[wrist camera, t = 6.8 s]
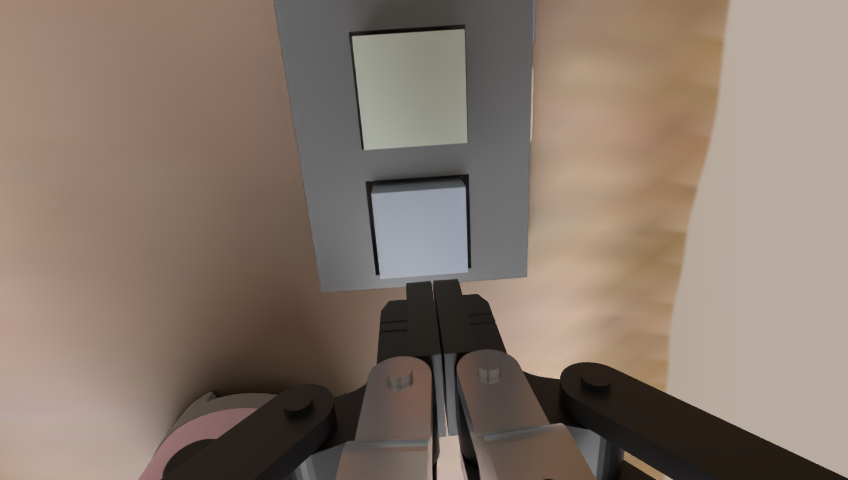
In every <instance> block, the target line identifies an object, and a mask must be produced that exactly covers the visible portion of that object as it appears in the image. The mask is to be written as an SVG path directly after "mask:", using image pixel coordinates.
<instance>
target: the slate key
mask: <svg viewBox="0 0 848 480" xmlns="http://www.w3.org/2000/svg"><path fill="white" fill-rule="evenodd" d="M371 197H372V206H373V215H374V224H375V234H376V243H377V252H378V262H379V271H380V279H388V278H402V277H415V276H428V275H441V274H454V273H467V272H468V252H467V217H466V187H465V185H464V183H463V181H462V179H461V177H460V176H459V175H449V176H435V177H421V178H407V179H393V180H379V181H374V184H373V188H372V193H371Z"/></svg>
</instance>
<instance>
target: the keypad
mask: <svg viewBox="0 0 848 480" xmlns="http://www.w3.org/2000/svg"><path fill="white" fill-rule="evenodd" d="M273 1H274V7H275V13H276V19H277V25H278V32H279V38H280V44H281V50H282V56H283V62H284V68H285V74H286V80H287V87H288V93H289V99H290V105H291V111H292V117H293V123H294V129H295V136H296V142H297V148H298V154H299V160H300V166H301V172H302V178H303V185H304V191H305V197H306V203H307V209H308V215H309V221H310V227H311V234H312V240H313V246H314V252H315V258H316V264H317V270H318V276H319V282H320V289H321V293H326V292H339V291H352V290H365V289H378V288H391V287H404V286H406V283H410V282H423V281H431V284H433V281H435V280H448V279H458V281H459V282H469V281H482V280H495V279H508V278H521V277H527V250H528V210H529V169H530V141H532V117H533V79H534V68H532V48H533V42H534V41H535V2H536V0H273ZM456 29H465V63H466V102H467V141H468V143H459V144H444V145H430V146H416V147H402V148H387V149H373V150H364V143H363V134H362V125H361V116H360V107H359V98H358V89H357V79H356V70H355V61H354V52H353V43H352V36H363V35H378V34H394V33H409V32H425V31H440V30H456ZM449 175H462V181H463V183H464V185H465V187H466V217H467V252H468V272H467V273H454V274H441V275H428V276H415V277H402V278H388V279H380V271H379V262H378V252H377V243H376V234H375V224H374V215H373V206H372V197H371V183H370V181H379V180H393V179H407V178H421V177H435V176H449Z"/></svg>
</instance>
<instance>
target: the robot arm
mask: <svg viewBox="0 0 848 480" xmlns="http://www.w3.org/2000/svg"><path fill="white" fill-rule="evenodd" d="M433 292H434V299H433ZM406 293H407V300H396V301H389V302H388V303H387V304H386V306H385V307H384V308H383V309H382V311H381V318H380V330H379V332H380V333H379V343H378V356H377V365H376V366H375V367H374V368H373V369H372V370H371V372H370V374H369V376H368V381H367V384H365V385H364V386H363V387H361V388H359V389H357V390H355V391H353V392H351V393H348V394H345V395H342V396H338V397H335V398H333V396H332V394H331V392H330V391H329V390H328V389H326V388H325V387H322V386H319V385H314V384H304V385H299V386H295V387H292V388H289V389H287V390H285V391H283V392H281V393H280V394H278V395H277V396H275V397H274V398H272V399H271V400H270V401H268V402H267V403H265V404H264V405H263V406H261V407H260V408H259V409H257V410H256V411H254V412H253V413H252V414H250V415H249V416H248V417H246V418H245V419H243V420H242V421H241V422H239V423H238V424H236V425H235V426H234V427H232V428H231V429H230V430H228V431H227V432H225V433H224V434H223V435H221V436H220V437H219V438H217V439H216V440H214V441H213V442H212V443H210V444H209V445H207V446H206V447H205V448H203V449H202V450H201V451H199V452H198V453H196V454H195V455H194V456H192V457H191V458H190V459H188V460H187V461H185V462H184V463H183V464H181V465H180V466H178V467H177V468H176V469H174V470H173V471H172V472H170V473H169V474H167V475H166V476H165V477H163V478H162V479H161V480H438V462H437V460H438V457H439V453H440V447H439V437H444V436H446V428H445V411H446V418H447V426H448V434H449V436H454V435H458V436H459V443H460V458H461V468H462V472H463V476H464V480H656V479H654V478H652V477H651V476H649V475H647V474H646V473H644V472H642V471H641V470H639V469H638V468H636V467H634V466H633V465H631V464H629V463H628V462H626V461H625V460H623V458H624V451H626V452H628V453H630V454H631V455H633V456H635V457H636V458H638V459H640V460H641V461H643V462H645V463H646V464H648V465H650V466H651V467H653V468H655V469H656V470H658V471H660V472H661V473H663V474H665V475H666V476H668V477H670V478H671V479H673V480H848V478H846V477H843V476H841V475H839V474H837V473H835V472H833V471H831V470H829V469H826V468H824V467H822V466H820V465H818V464H816V463H814V462H811V461H809V460H807V459H805V458H803V457H801V456H799V455H797V454H795V453H792V452H790V451H788V450H786V449H784V448H782V447H779V446H777V445H775V444H773V443H771V442H769V441H767V440H765V439H763V438H760V437H758V436H756V435H754V434H752V433H750V432H748V431H745V430H743V429H741V428H739V427H737V426H735V425H733V424H731V423H728V422H726V421H724V420H722V419H720V418H718V417H716V416H713V415H711V414H709V413H707V412H705V411H703V410H701V409H699V408H697V407H694V406H692V405H690V404H688V403H686V402H684V401H682V400H679V399H677V398H675V397H673V396H671V395H669V394H667V393H665V392H662V391H660V390H658V389H656V388H654V387H652V386H650V385H648V384H645V383H643V382H641V381H639V380H637V379H635V378H633V377H631V376H628V375H626V374H624V373H622V372H620V371H618V370H616V369H613V368H611V367H609V366H606V365H603V364H598V363H591V362H582V363H576V364H573V365H570V366H568V367H567V368H565V369H564V370H563V372H562V373H561V376H560V379H553V378H546V377H540V376H535V375H532V374H529V373H526V372H524V371H522V369H521V367H520V365H519V364H518V362H517V361H516V360H515V359H514V358H513V357H512V356H510V355H508V354H507V352H506V349H505V347H504V344H503V341H502V339H501V336H500V333H499V330H498V328H497V325H496V324H495V319H494V317H493V315H492V311H491V309H490V306H489V303H488V302H487V301H486V300H485V299H483V298H482V297H481V296H480V295H478V294H471V295H462V292H461V288H460V284H459V281H458V279H448V280H435V281H433V291H432V284H431V281H423V282H410V283H406ZM444 403H445V411H444Z"/></svg>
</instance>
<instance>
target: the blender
mask: <svg viewBox="0 0 848 480" xmlns="http://www.w3.org/2000/svg"><path fill="white" fill-rule="evenodd" d="M275 396H277V395H274V394H266V393H243V394H234V395H228V396H223V397H220V398H217V397H216V396H215V394H214V393H213V392H209V393H207V394H205V395H203V396H202V397H200V398H199V399H197V400H196V401H195V402H193V403H192V404H191V405H190V406H189V407H188V408H187V409H186V410H185V412H184V413H183V414H182V415H181V417H180V418H179V419H178V420H177V421H176V422H175V424H174V425H173V426H172V427H171V429H170V430H169V431H168V433H167V434H166V436H165V437H164V439H163V441H162V442H161V444H160V445H159V447H158V449H157V450H156V452H155V454H154V456H153V458H152V460H151V461H150V463H149V464H148V466H147V467H146V469H145V470H144V472H143V473H142V475H141V476H140V478H139V479H138V480H161V479H162V478H163V477H165V476H166V475H167V474H169V473H170V472H172V471H173V470H174V469H176V468H177V467H178V466H180V465H181V464H183V463H184V462H185V461H187V460H188V459H190V458H191V457H192V456H194V455H195V454H196V453H198V452H199V451H201V450H202V449H203V448H205V447H206V446H207V445H209V444H210V443H212V442H213V441H214V440H216V439H217V438H219V437H220V436H221V435H223V434H224V433H225V432H227V431H228V430H230V429H231V428H232V427H234V426H235V425H236V424H238V423H239V422H241V421H242V420H243V419H245V418H246V417H248V416H249V415H250V414H252V413H253V412H254V411H256V410H257V409H259V408H260V407H261V406H263V405H264V404H265V403H267V402H268V401H270V400H271V399H272V398H274V397H275Z"/></svg>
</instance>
